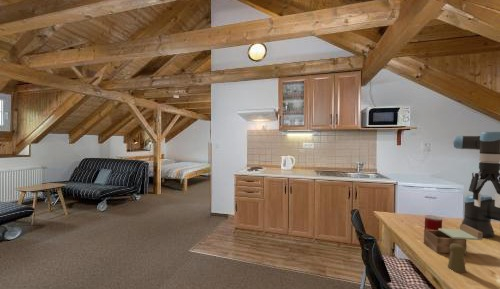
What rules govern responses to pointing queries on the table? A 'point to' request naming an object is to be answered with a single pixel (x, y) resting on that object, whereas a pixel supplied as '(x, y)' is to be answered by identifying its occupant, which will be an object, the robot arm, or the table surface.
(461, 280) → the table surface
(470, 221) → the robot arm
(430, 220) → the canned food
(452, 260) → the cork
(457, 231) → the lid
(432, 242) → the box
